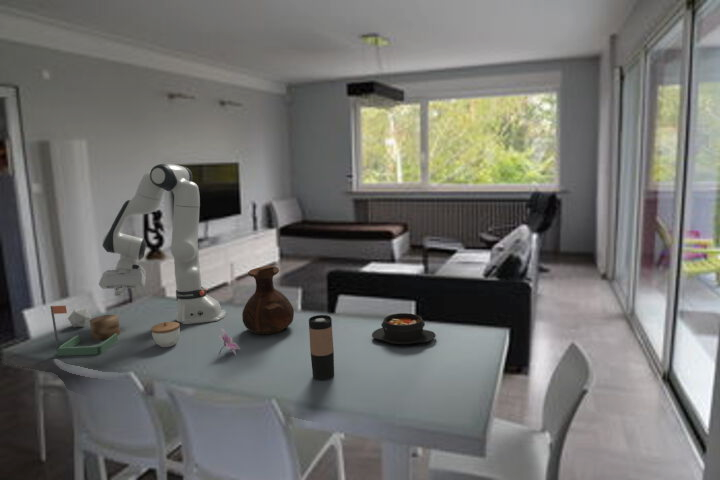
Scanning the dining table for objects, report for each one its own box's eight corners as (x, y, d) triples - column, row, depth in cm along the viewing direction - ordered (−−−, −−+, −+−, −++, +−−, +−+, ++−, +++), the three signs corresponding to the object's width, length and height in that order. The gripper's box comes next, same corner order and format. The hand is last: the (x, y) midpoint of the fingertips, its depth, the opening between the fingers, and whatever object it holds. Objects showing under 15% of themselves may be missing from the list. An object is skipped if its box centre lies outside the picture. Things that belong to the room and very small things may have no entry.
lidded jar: (187, 341, 206) (184, 319, 205) (167, 351, 197) (164, 328, 195) (167, 338, 211) (165, 316, 209) (147, 347, 201) (144, 325, 199)
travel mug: (312, 371, 172) (308, 315, 168) (334, 370, 172) (331, 314, 169) (312, 381, 164) (308, 323, 161) (335, 380, 165) (332, 321, 161)
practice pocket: (118, 340, 211) (111, 294, 207) (100, 354, 197) (93, 304, 193) (78, 341, 211) (71, 295, 208) (57, 355, 197) (49, 306, 193)
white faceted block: (76, 331, 226) (88, 312, 228) (60, 322, 227) (73, 303, 228) (86, 332, 234) (98, 313, 236) (71, 322, 235) (82, 304, 237)
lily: (224, 364, 184) (234, 342, 184) (202, 349, 188) (212, 328, 188) (240, 361, 194) (250, 340, 194) (219, 347, 198) (229, 327, 198)
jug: (232, 336, 209) (225, 266, 204) (261, 319, 229) (255, 255, 224) (277, 341, 201) (272, 268, 196) (303, 323, 221) (299, 256, 215)
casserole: (439, 333, 202) (438, 313, 201) (431, 351, 185) (430, 329, 183) (379, 329, 210) (378, 309, 208) (366, 346, 192) (365, 325, 191)
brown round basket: (125, 330, 223) (122, 314, 222) (112, 339, 212) (110, 322, 211) (100, 331, 223) (98, 315, 222) (87, 340, 213) (84, 323, 211)
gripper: (101, 266, 236) (92, 292, 228) (144, 265, 236) (137, 291, 228) (107, 273, 241) (98, 299, 233) (149, 272, 241) (142, 298, 233)
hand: (118, 295), depth 230 cm, fingers closed
